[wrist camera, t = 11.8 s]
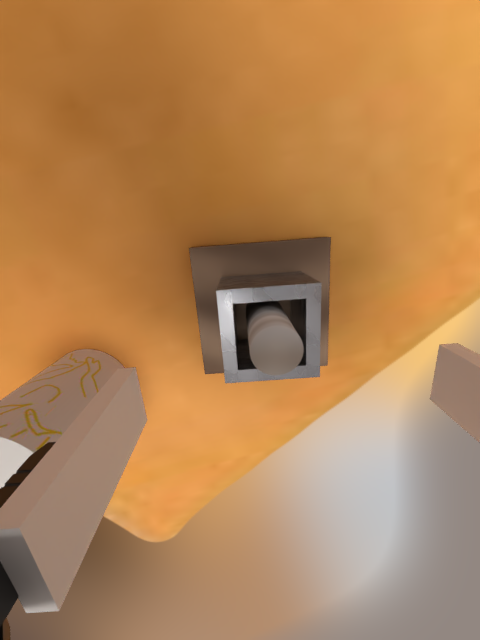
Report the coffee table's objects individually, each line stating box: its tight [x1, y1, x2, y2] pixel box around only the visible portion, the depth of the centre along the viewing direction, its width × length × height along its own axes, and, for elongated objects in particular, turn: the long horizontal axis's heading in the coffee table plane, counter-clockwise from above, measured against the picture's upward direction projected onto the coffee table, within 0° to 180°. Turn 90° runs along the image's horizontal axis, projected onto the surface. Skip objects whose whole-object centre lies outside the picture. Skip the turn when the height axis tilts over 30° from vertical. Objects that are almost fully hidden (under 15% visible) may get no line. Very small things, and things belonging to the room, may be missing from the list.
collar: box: [216, 271, 322, 383], centre depth 22 cm, size 7×7×6 cm
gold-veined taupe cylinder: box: [0, 349, 124, 488], centre depth 22 cm, size 8×8×12 cm
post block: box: [189, 237, 331, 375], centre depth 21 cm, size 12×12×10 cm
